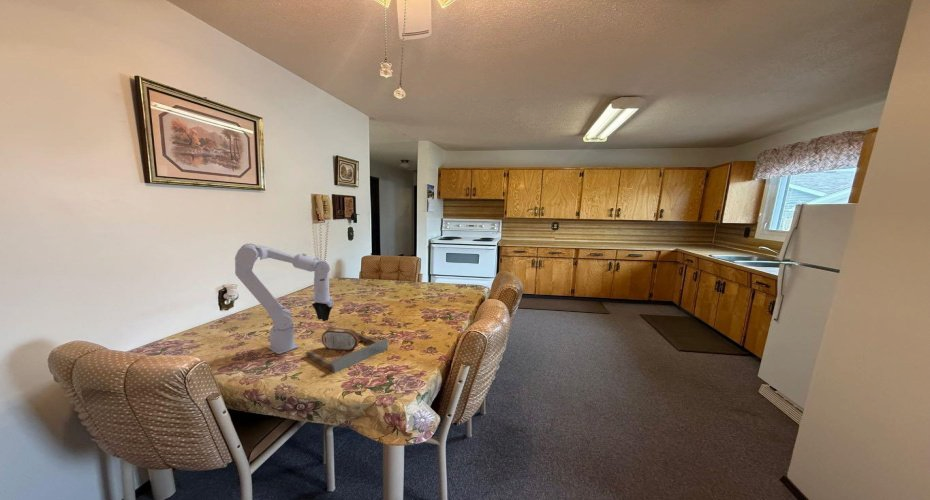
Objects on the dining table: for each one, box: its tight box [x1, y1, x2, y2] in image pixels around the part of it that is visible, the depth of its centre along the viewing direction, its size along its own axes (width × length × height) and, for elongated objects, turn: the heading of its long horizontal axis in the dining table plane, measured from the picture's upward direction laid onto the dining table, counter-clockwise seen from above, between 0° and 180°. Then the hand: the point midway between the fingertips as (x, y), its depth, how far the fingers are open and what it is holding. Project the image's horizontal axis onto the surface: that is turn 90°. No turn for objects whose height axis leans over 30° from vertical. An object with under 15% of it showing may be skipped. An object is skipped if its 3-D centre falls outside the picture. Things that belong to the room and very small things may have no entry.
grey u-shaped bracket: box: [306, 332, 389, 374], centre depth 118 cm, size 19×23×4 cm
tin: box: [321, 327, 361, 352], centre depth 121 cm, size 15×3×8 cm, turn 84°
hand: (323, 319), depth 128 cm, fingers open, 3 cm apart
